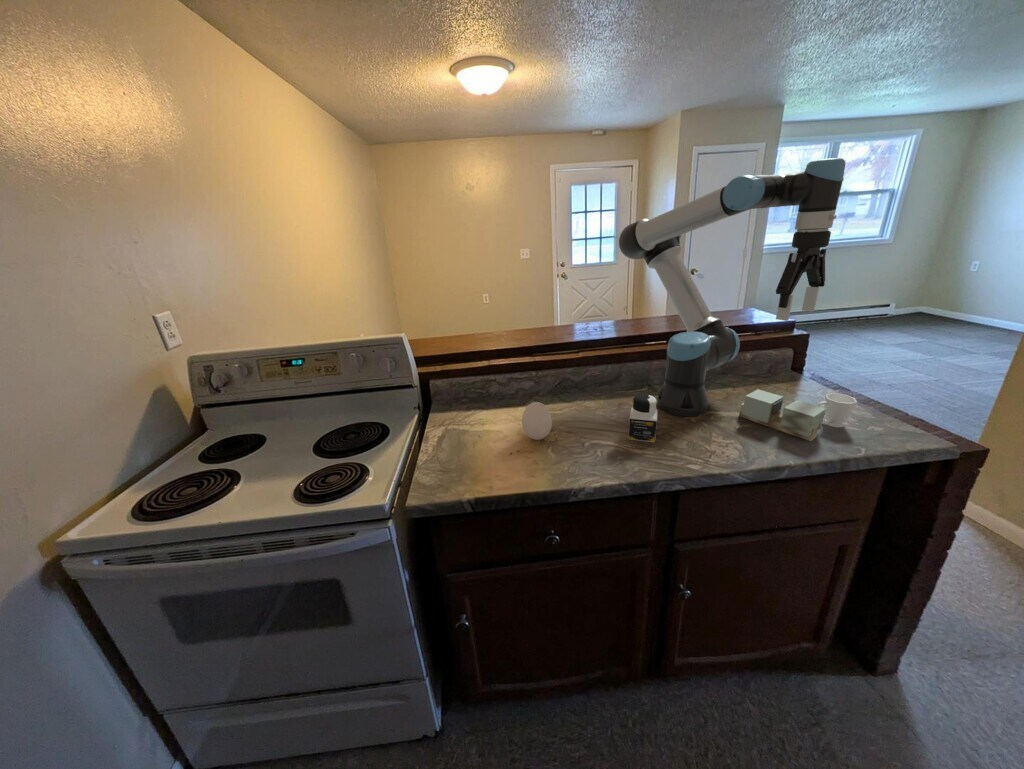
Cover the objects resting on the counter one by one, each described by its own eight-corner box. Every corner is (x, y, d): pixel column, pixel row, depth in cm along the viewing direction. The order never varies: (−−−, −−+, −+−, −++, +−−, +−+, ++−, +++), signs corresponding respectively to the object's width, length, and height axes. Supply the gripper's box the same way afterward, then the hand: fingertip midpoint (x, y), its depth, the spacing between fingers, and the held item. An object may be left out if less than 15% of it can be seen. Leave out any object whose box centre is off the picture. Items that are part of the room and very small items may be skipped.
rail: (735, 418, 119) (739, 393, 116) (747, 411, 122) (752, 387, 119) (807, 443, 104) (814, 416, 101) (818, 435, 107) (826, 408, 104)
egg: (518, 443, 113) (516, 407, 109) (528, 429, 121) (526, 395, 116) (547, 447, 110) (546, 411, 106) (555, 432, 118) (555, 397, 113)
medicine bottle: (628, 439, 112) (630, 401, 107) (630, 427, 118) (632, 390, 113) (655, 443, 109) (658, 403, 104) (655, 430, 115) (659, 393, 111)
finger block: (742, 414, 117) (745, 395, 114) (754, 407, 120) (757, 389, 118) (768, 423, 111) (772, 404, 109) (780, 415, 114) (785, 397, 112)
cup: (856, 429, 109) (864, 403, 106) (817, 430, 110) (825, 404, 106) (837, 417, 115) (845, 392, 112) (802, 418, 116) (808, 393, 113)
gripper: (804, 233, 89) (786, 326, 97) (853, 226, 101) (833, 309, 109) (769, 234, 95) (755, 321, 103) (819, 227, 107) (802, 305, 115)
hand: (795, 315), depth 106 cm, fingers open, 13 cm apart
